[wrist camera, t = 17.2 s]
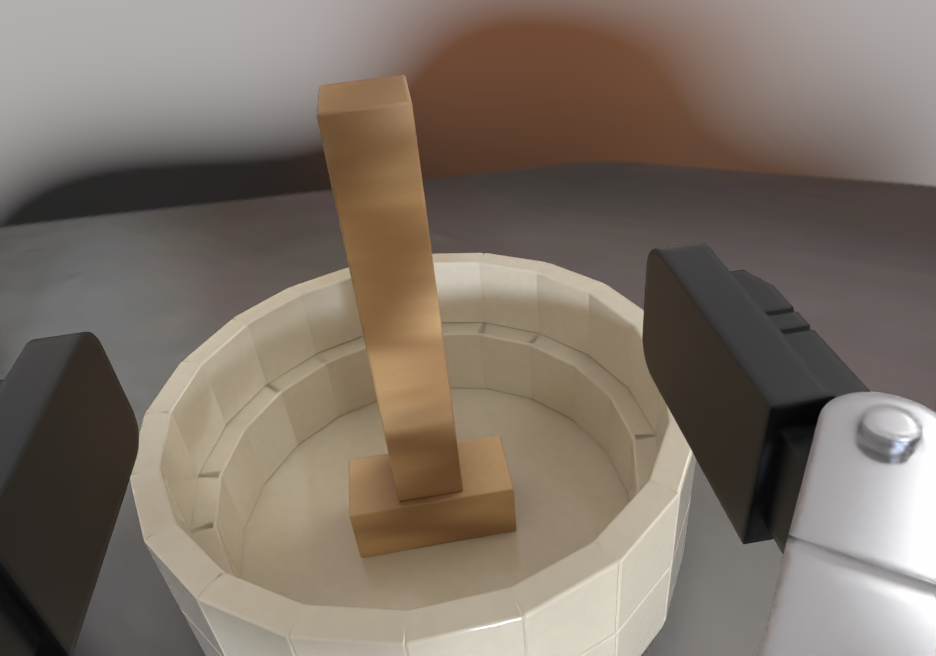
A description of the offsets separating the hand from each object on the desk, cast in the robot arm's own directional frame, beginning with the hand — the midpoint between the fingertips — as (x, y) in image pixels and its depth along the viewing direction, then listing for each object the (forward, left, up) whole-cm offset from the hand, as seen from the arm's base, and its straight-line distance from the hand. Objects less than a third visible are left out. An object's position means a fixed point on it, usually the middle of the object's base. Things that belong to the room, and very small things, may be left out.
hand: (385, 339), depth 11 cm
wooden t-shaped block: (-3, -7, -13) cm, 15 cm away
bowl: (-3, -7, -13) cm, 15 cm away
